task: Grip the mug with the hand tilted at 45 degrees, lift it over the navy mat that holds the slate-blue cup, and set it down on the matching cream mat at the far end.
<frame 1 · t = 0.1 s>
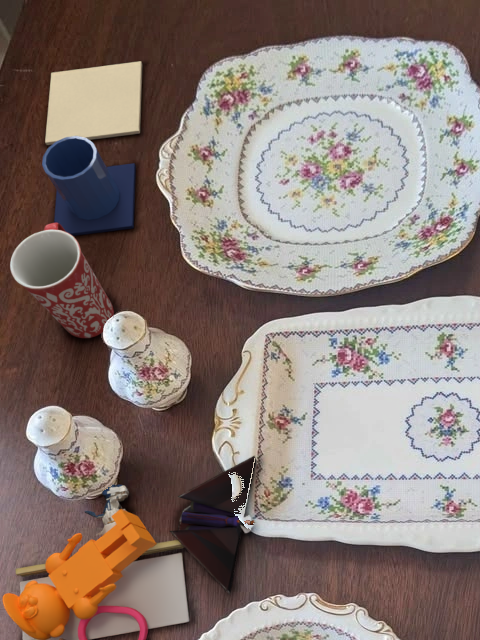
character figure: (174, 517, 99), point 1 cm above the table, touching sign holder
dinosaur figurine: (121, 553, 96), point 3 cm above the table, touching sign holder, toy
blue cup: (96, 201, 120), resting on navy mat
sign holder: (100, 553, 98), point 1 cm above the table, touching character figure, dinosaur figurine, fitness band, toy
cream mat: (95, 103, 127), on the table
toy: (98, 579, 97), point 1 cm above the table, touching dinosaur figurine, sign holder
fitness band: (115, 630, 95), on the table, touching sign holder
mug: (90, 307, 113), on the table
navy mat: (96, 201, 120), on the table
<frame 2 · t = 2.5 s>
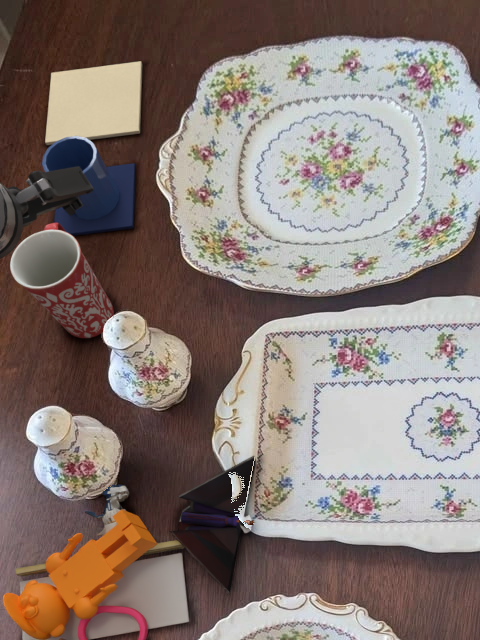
hand: (10, 234, 86), 26 cm above the table, tool tilted 40°, fingers open, 13 cm apart
nothing on the table moved.
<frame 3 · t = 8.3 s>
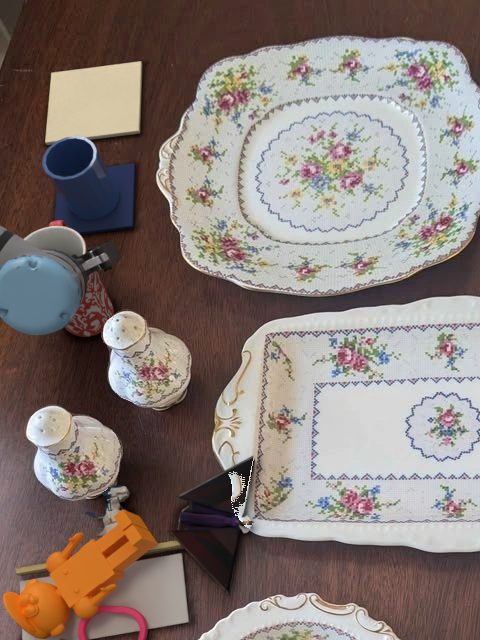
hand: (67, 270, 110), 5 cm above the table, tool tilted 45°, fingers closed on mug, 8 cm apart
mug: (90, 307, 113), on the table, touching gripper
everything else where it was.
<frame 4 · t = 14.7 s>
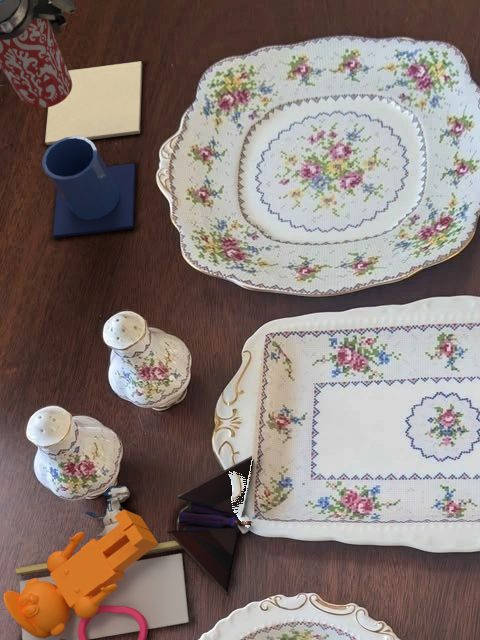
hand: (22, 35, 104), 21 cm above the table, tool tilted 45°, fingers closed on mug, 8 cm apart
mug: (47, 81, 108), point 16 cm above the table, touching gripper
everything else where it was.
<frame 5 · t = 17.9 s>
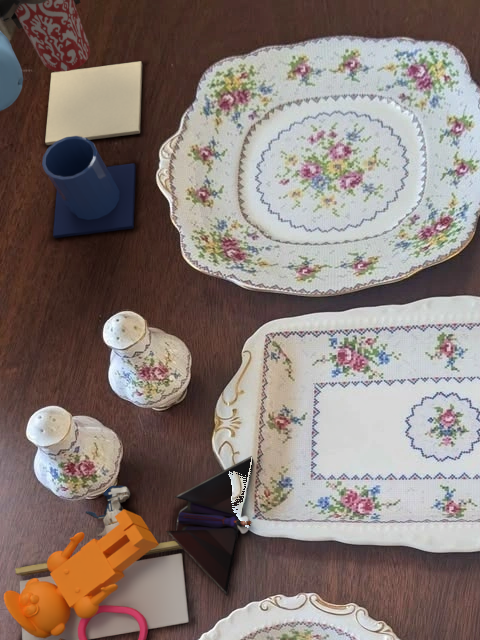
hand: (44, 5, 115), 15 cm above the table, tool tilted 45°, fingers closed on mug, 8 cm apart
mug: (67, 48, 118), point 10 cm above the table, touching gripper
everything else where it was.
when the fingers open (5 cm above the table, at t = 20.9 s): mug stays where it is, resting on cream mat.
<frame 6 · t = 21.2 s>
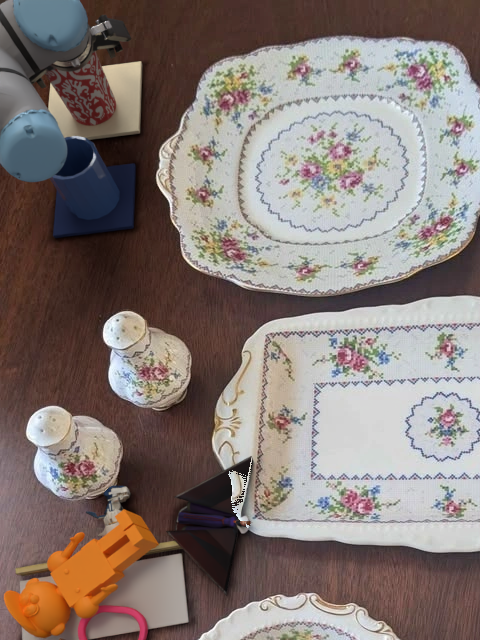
hand: (74, 63, 123), 6 cm above the table, tool tilted 45°, fingers open, 11 cm apart
mug: (95, 102, 127), resting on cream mat
everything else where it was.
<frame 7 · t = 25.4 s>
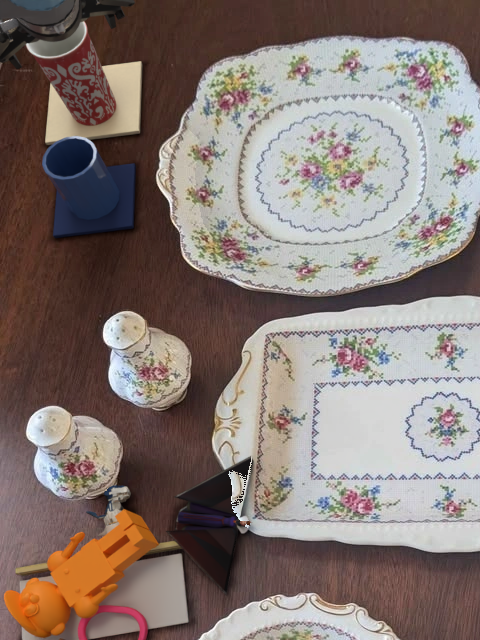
hand: (61, 37, 105), 20 cm above the table, tool tilted 45°, fingers open, 13 cm apart
nothing on the table moved.
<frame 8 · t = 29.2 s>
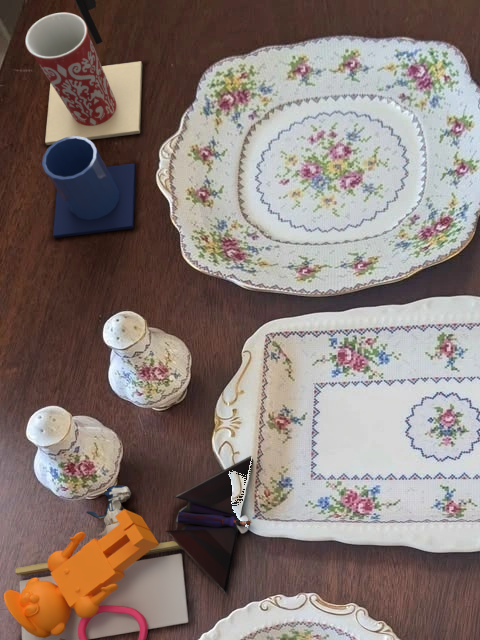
hand: (39, 60, 88), 31 cm above the table, tool pointing down, fingers open, 13 cm apart
nothing on the table moved.
at the end: mug inside the target area on the cream mat (0.2 cm from its centre), point 0.4 cm above the cream mat's base; mug tilted 0°; mug 0.2 cm from the cream mat (horizontally) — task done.
